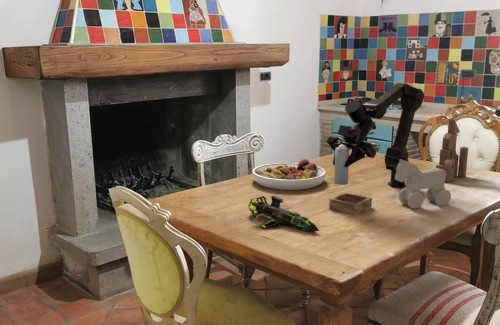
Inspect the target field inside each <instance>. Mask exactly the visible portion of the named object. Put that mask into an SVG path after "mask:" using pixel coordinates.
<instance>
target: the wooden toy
mask: <svg viewBox="0 0 500 325" xmlns="http://www.w3.org/2000/svg"><path fill="white" fill-rule="evenodd" d="M447 123H448V125H447V132H446V133H444V135H443V137H442V144H441V149H440V150H439V160H438V164H437V165H435V168H439V169H442V170H444V171H445V172H446V178H445V182H444V183H448V184H451V183H454V181H455V180H454V178H455V177H459V178H466V177H467V168H468V167H467V166H468V158H469V157H468V156H469V147H467V146H461V147H459V154H458V153H457V141H458V140H457V139H458V134H459V133H460V132H461V131H460V129H459V126H458V125H457V122H456V119H450V118H449V119H448V122H447Z"/></svg>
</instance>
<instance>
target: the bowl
mask: <svg viewBox="0 0 500 325" xmlns="http://www.w3.org/2000/svg"><path fill="white" fill-rule="evenodd" d="M252 177H253V180H254V181H255V183H257V184H258V185H260V186H262V187H265V188H269V189H273V190H281V191H299V190H308V189H312V188H315V187H317V186H319V185H321V184H322V183H323V182H324V180H325V178H326V170H325V168H322V167H320V166H317V164H315V163H314V162H312V163H310V161H309V159H306V158H305V159H301V160H300V161H299V162H298V163H297V162H279V163H277V162H275V163H270V164H262V165H259V166H256V167H254V168H253V169H252Z"/></svg>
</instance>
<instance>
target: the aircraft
mask: <svg viewBox="0 0 500 325" xmlns="http://www.w3.org/2000/svg"><path fill="white" fill-rule="evenodd" d="M270 198H271V203H270V204H269V203H268V200H267V198H266V197H265V196H258V197H254V198H250V200H249V202H248V203H249V204H248V208H249V211H250V212H251V214H252V216H253V217H255V218H257V215H258V214H259V215H264V216H267V217H269V218H267V219H266V220H264V221H263V222H261V223H259V224H258V226H259V227H262V228H265V229H268V228H271V227H275V228H276V229H277V228H279V227H280V224H284V225H285V226H288V227H290V228H295V229H297V230H299V231H301V232H303V231H304V232H309V233H314V232H320V229H319V228H318V226H317V225H316V224H315V222H312V221H311V220H310V219H309V218H308V217H307V216H301V214H300V213H297V212H293V211H290V210H286V209H284V208H281V206H280V205H281V203H282V204H283V203H284V199H283V198H280V197H278V196H275V195H272V196H270ZM255 211H256V212H255Z"/></svg>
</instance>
